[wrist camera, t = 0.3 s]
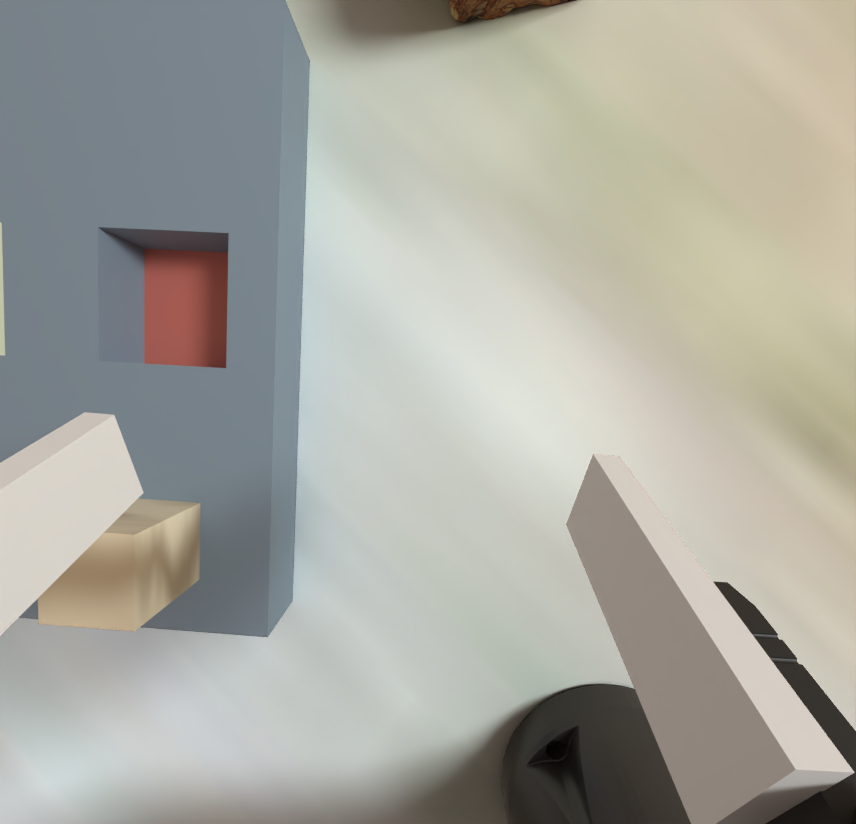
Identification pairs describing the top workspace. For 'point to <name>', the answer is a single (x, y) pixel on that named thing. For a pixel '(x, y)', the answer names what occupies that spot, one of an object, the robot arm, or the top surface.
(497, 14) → the bread
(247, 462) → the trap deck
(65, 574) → the maple block
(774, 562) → the top surface
